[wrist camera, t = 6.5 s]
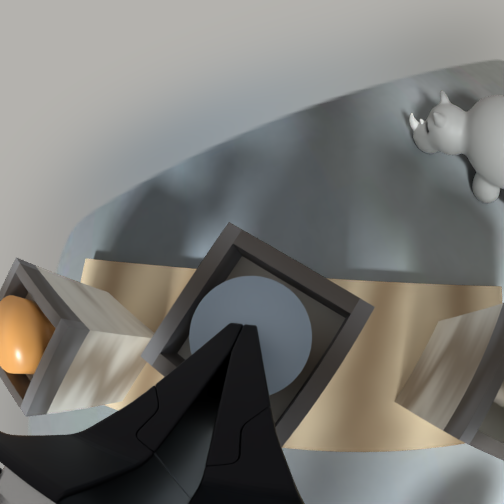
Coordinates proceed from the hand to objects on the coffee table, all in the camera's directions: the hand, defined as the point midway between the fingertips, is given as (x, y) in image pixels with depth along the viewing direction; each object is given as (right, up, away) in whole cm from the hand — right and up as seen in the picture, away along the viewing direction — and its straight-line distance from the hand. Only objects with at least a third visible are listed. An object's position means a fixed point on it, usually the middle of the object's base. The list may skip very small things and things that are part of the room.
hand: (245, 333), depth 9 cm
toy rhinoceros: (+19, +10, +12) cm, 24 cm away
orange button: (-12, -2, +4) cm, 12 cm away
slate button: (0, -1, +2) cm, 2 cm away
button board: (+2, -5, +10) cm, 11 cm away
